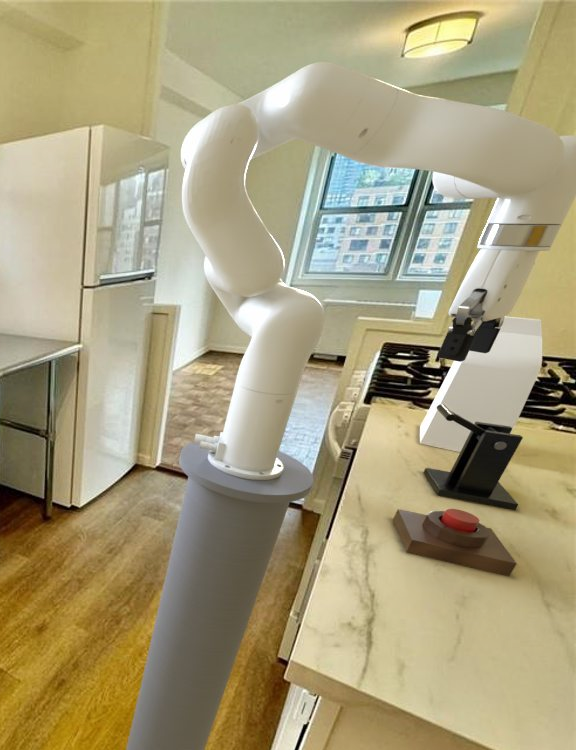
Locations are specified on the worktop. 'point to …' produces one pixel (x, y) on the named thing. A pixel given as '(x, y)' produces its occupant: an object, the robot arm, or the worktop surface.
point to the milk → (487, 385)
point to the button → (460, 520)
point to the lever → (461, 421)
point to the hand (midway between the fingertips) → (463, 355)
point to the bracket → (479, 469)
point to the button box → (452, 542)
